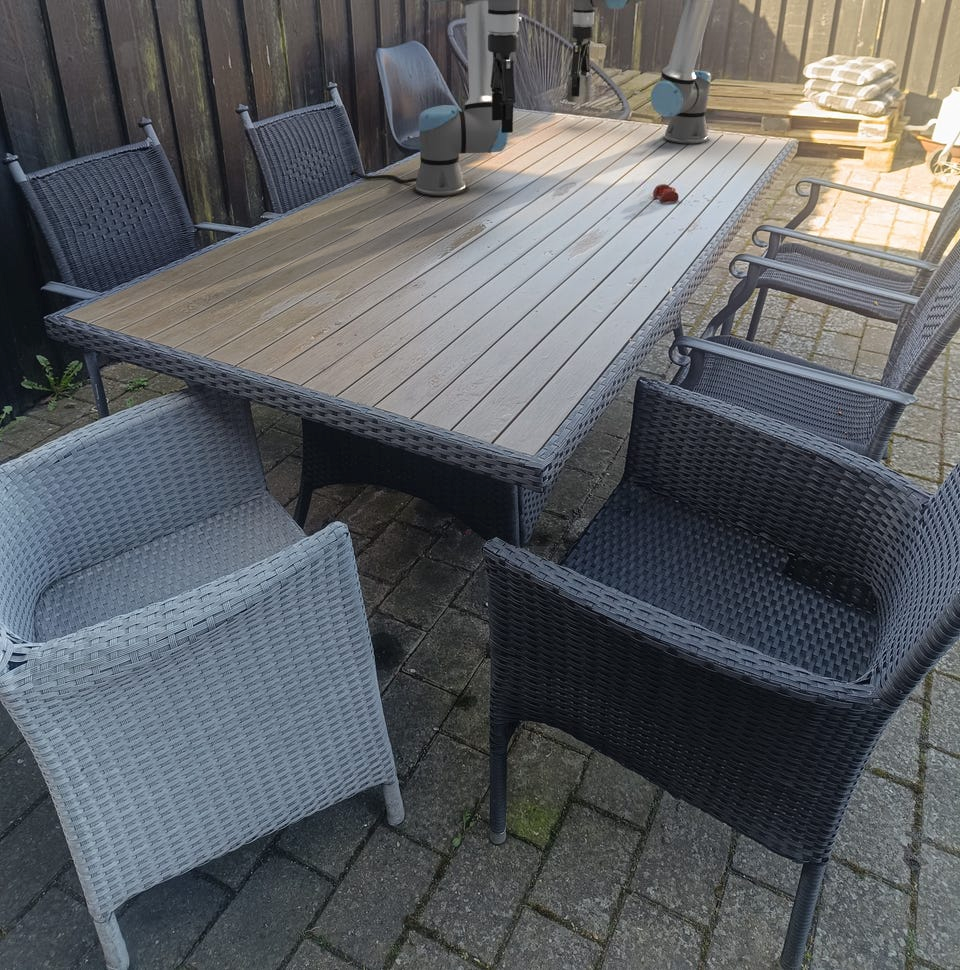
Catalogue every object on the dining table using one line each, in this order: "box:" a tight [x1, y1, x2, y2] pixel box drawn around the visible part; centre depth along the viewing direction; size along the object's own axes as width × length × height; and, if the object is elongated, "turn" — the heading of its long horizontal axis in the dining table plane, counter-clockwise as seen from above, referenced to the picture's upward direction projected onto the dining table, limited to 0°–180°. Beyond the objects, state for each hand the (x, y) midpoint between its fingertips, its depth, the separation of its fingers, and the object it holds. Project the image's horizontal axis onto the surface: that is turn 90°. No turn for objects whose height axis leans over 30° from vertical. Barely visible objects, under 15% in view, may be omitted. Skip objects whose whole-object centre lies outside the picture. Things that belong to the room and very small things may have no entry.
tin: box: [566, 71, 593, 104], centre depth 313 cm, size 9×9×9 cm
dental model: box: [652, 183, 679, 203], centre depth 249 cm, size 6×4×8 cm
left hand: (502, 126), depth 216 cm, fingers open, 13 cm apart
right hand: (579, 93), depth 314 cm, fingers closed on tin, 9 cm apart
